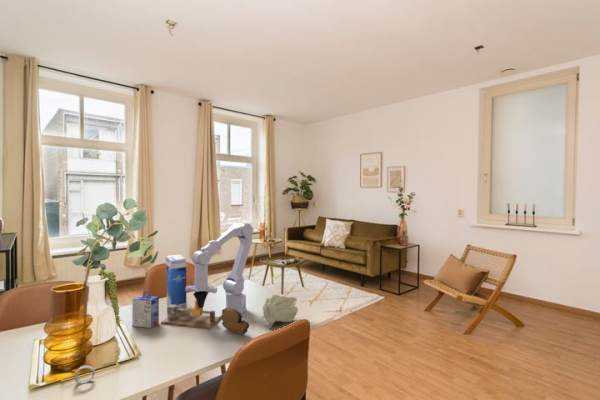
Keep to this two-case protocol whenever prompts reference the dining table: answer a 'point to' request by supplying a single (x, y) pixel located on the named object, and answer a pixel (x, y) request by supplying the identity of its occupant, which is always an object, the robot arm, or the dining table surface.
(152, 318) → the ink cartridge box
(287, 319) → the folded clay sculpture
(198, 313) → the orange plastic bracket
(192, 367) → the dining table surface
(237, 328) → the wooden carving
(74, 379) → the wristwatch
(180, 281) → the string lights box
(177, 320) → the cord rail
